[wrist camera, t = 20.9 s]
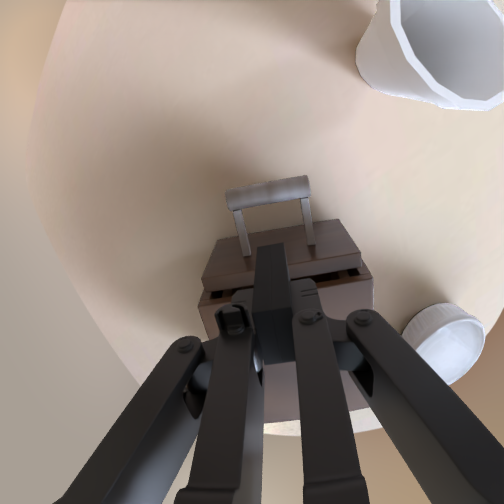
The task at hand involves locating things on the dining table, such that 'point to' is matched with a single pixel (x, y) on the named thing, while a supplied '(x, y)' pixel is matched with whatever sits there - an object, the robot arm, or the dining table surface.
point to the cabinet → (284, 374)
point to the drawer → (279, 241)
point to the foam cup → (436, 52)
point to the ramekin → (446, 339)
